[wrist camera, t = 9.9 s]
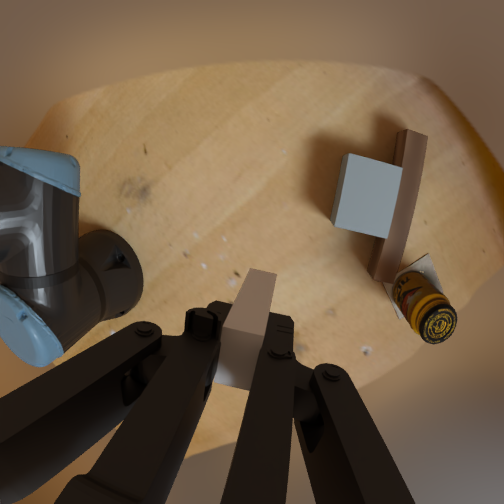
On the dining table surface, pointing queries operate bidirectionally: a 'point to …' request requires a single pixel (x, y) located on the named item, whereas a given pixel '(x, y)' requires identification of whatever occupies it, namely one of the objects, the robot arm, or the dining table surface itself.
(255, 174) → the dining table surface
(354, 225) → the block
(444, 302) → the condiment
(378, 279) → the board
